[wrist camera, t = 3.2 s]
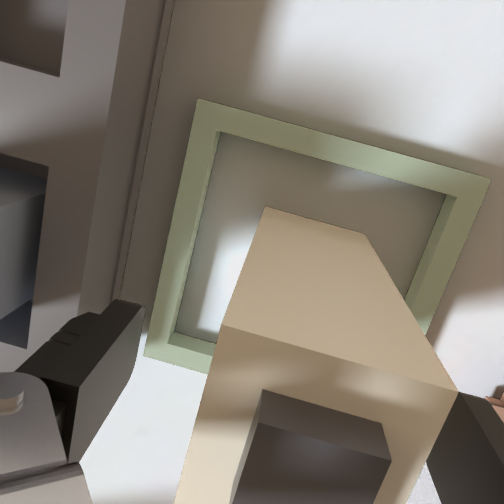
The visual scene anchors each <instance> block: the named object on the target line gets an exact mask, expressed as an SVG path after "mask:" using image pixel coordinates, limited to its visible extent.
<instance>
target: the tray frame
mask: <svg viewBox="0 0 504 504" xmlns="http://www.w3.org/2000/svg"><path fill="white" fill-rule="evenodd" d="M220 132H224V133H228V134H232V135H235V136H239V137H242V138H246V139H250V140H253V141H257V142H260V143H264V144H268V145H271V146H275V147H278V148H282V149H286V150H289V151H293V152H297V153H300V154H304V155H307V156H311V157H315V158H318V159H322V160H325V161H329V162H333V163H336V164H340V165H343V166H347V167H351V168H354V169H358V170H361V171H365V172H369V173H372V174H376V175H380V176H383V177H387V178H390V179H394V180H398V181H401V182H405V183H408V184H412V185H416V186H419V187H423V188H426V189H430V190H434V191H437V192H441V193H444V194H447V195H446V197H445V200H444V202H443V205H442V207H441V210H440V212H439V215H438V217H437V220H436V222H435V225H434V227H433V230H432V232H431V235H430V237H429V240H428V242H427V245H426V247H425V250H424V252H423V255H422V257H421V260H420V262H419V265H418V267H417V270H416V272H415V275H414V277H413V280H412V282H411V285H410V287H409V290H408V292H407V295H406V297H405V300H404V301H405V302H406V304H407V306H408V307H409V309H410V311H411V312H412V314H413V316H414V318H415V319H416V321H417V323H418V324H419V326H420V328H421V329H422V331H423V333H424V334H425V335H426V332H427V330H428V328H429V325H430V323H431V321H432V318H433V316H434V314H435V311H436V309H437V307H438V304H439V302H440V300H441V297H442V295H443V293H444V290H445V288H446V286H447V283H448V281H449V279H450V276H451V274H452V272H453V269H454V267H455V265H456V262H457V260H458V258H459V255H460V253H461V251H462V248H463V246H464V244H465V241H466V239H467V237H468V234H469V232H470V230H471V227H472V225H473V223H474V220H475V218H476V216H477V213H478V211H479V209H480V206H481V204H482V202H483V199H484V197H485V195H486V192H487V190H488V188H489V185H490V183H491V181H492V179H489V178H486V177H482V176H479V175H475V174H472V173H468V172H464V171H461V170H457V169H454V168H450V167H446V166H443V165H439V164H435V163H432V162H428V161H425V160H421V159H417V158H414V157H410V156H406V155H403V154H399V153H396V152H392V151H388V150H385V149H381V148H377V147H374V146H370V145H367V144H363V143H359V142H356V141H352V140H348V139H345V138H341V137H338V136H334V135H330V134H327V133H323V132H319V131H316V130H312V129H309V128H305V127H301V126H298V125H294V124H290V123H287V122H283V121H280V120H276V119H272V118H269V117H265V116H261V115H258V114H254V113H251V112H247V111H243V110H240V109H236V108H232V107H229V106H225V105H222V104H218V103H214V102H211V101H207V100H203V99H199V98H198V99H197V104H196V108H195V113H194V118H193V123H192V127H191V132H190V137H189V141H188V146H187V151H186V156H185V160H184V165H183V170H182V174H181V179H180V184H179V189H178V193H177V198H176V203H175V207H174V212H173V217H172V222H171V226H170V231H169V236H168V240H167V245H166V250H165V255H164V259H163V264H162V269H161V273H160V278H159V283H158V288H157V292H156V297H155V302H154V306H153V311H152V316H151V321H150V325H149V330H148V335H147V339H146V344H145V349H144V354H143V356H146V357H149V358H153V359H156V360H159V361H163V362H166V363H170V364H173V365H177V366H180V367H184V368H187V369H191V370H194V371H198V372H201V373H205V374H208V372H209V369H210V365H211V361H212V357H213V354H214V350H215V346H216V344H215V343H211V342H208V341H204V340H201V339H197V338H194V337H190V336H187V335H183V334H180V333H176V332H174V330H175V326H176V321H177V317H178V313H179V308H180V304H181V300H182V295H183V291H184V287H185V282H186V278H187V274H188V270H189V265H190V261H191V257H192V252H193V248H194V244H195V239H196V235H197V231H198V227H199V222H200V218H201V214H202V209H203V205H204V201H205V196H206V192H207V188H208V183H209V179H210V175H211V171H212V166H213V162H214V158H215V153H216V149H217V145H218V140H219V136H220Z"/></svg>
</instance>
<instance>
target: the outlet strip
mask: <svg viewBox="0 0 504 504" xmlns="http://www.w3.org/2000/svg"><path fill="white" fill-rule="evenodd" d="M173 5H174V0H0V167H4V168H7V169H11V170H15V171H18V172H22V173H25V174H29V175H32V176H36V177H40V178H43V179H47V186H46V195H45V203H44V211H43V220H42V228H41V237H40V245H39V253H38V262H37V270H36V278H35V287H34V295H33V298H32V299H30V300H29V301H27V302H26V303H24V304H23V305H21V306H20V307H18V308H17V309H15V310H14V311H12V312H11V313H9V314H8V315H6V316H5V317H3V318H2V319H0V373H2V372H14V371H15V370H16V369H17V368H19V367H20V366H21V365H22V364H23V363H24V362H25V361H26V360H27V359H28V358H29V357H30V356H31V355H33V354H34V353H35V352H36V351H37V350H38V349H39V348H40V347H41V346H42V345H43V344H44V343H45V342H46V341H49V339H50V338H51V337H52V336H53V335H54V334H55V333H56V332H59V329H60V328H62V327H63V326H64V325H65V324H66V323H67V322H68V321H69V320H70V319H72V318H74V317H77V316H79V315H82V314H84V313H87V312H92V313H96V314H101V313H102V312H103V311H104V310H105V309H106V308H107V307H108V306H109V305H110V304H111V303H112V301H113V300H115V299H119V297H120V291H121V286H122V281H123V275H124V270H125V264H126V259H127V254H128V248H129V243H130V237H131V232H132V227H133V221H134V216H135V210H136V205H137V199H138V194H139V189H140V183H141V178H142V172H143V167H144V162H145V156H146V151H147V145H148V140H149V135H150V129H151V124H152V118H153V113H154V108H155V102H156V97H157V91H158V86H159V80H160V75H161V70H162V64H163V59H164V53H165V48H166V43H167V37H168V32H169V26H170V21H171V16H172V10H173Z"/></svg>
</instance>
